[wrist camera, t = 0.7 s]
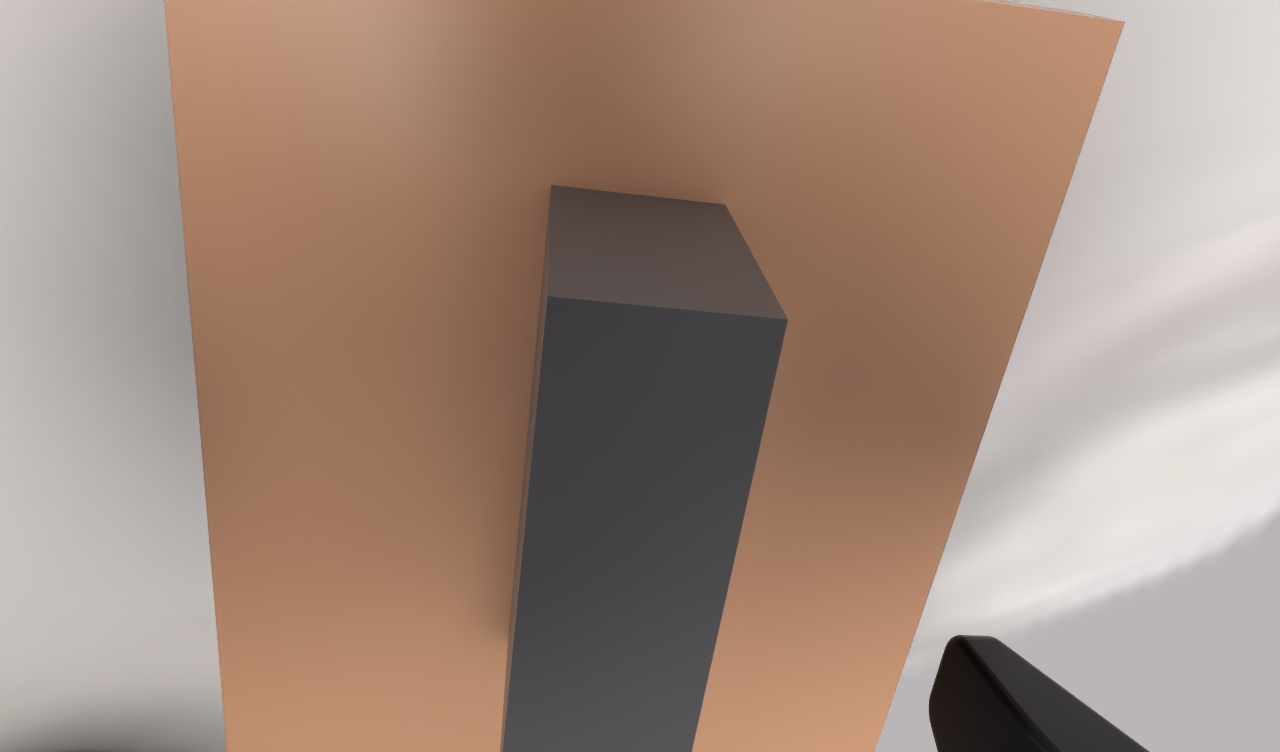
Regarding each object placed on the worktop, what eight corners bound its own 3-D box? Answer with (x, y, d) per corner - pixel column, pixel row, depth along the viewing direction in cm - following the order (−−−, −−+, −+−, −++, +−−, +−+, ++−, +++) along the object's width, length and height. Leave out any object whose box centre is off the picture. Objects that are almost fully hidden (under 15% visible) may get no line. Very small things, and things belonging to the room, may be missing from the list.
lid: (836, 691, 20) (940, 985, 15) (262, 665, 19) (136, 982, 13) (1047, 5, 14) (1357, 71, 9) (217, -117, 13) (-50, -132, 7)
